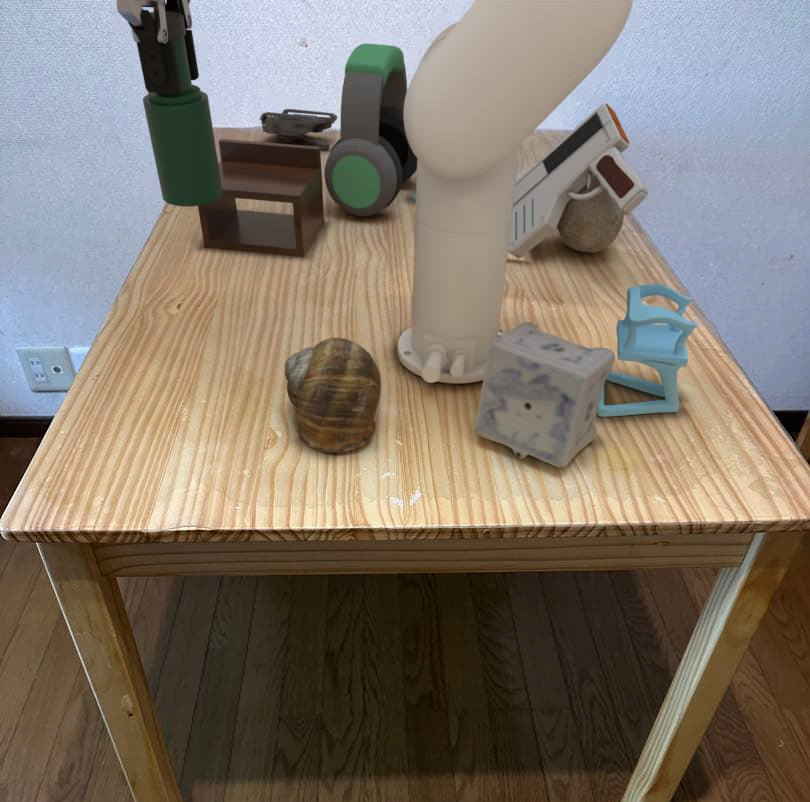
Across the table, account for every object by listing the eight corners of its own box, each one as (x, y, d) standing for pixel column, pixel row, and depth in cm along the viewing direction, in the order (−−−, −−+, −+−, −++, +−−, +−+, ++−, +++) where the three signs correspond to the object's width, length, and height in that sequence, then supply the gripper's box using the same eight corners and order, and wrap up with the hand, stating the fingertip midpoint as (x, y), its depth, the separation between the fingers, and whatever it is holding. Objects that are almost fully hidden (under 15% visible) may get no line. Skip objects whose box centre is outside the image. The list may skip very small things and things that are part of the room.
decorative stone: (547, 233, 111) (558, 159, 104) (606, 234, 111) (621, 160, 104) (557, 265, 104) (569, 188, 97) (620, 266, 104) (637, 189, 97)
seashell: (292, 389, 82) (285, 319, 77) (381, 389, 82) (380, 320, 77) (282, 455, 74) (273, 383, 69) (380, 455, 74) (380, 383, 69)
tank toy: (311, 117, 129) (313, 152, 132) (342, 112, 136) (343, 145, 138) (252, 112, 133) (255, 146, 136) (285, 107, 140) (287, 139, 143)
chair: (679, 425, 79) (714, 316, 70) (596, 416, 80) (621, 307, 71) (674, 384, 84) (706, 278, 76) (596, 375, 85) (618, 270, 77)
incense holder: (598, 435, 77) (621, 341, 70) (562, 479, 72) (582, 383, 65) (510, 402, 81) (523, 310, 74) (470, 442, 76) (479, 347, 69)
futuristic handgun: (525, 299, 104) (494, 215, 110) (656, 198, 92) (614, 108, 98) (513, 293, 102) (482, 207, 108) (645, 188, 91) (603, 97, 96)
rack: (303, 257, 105) (297, 175, 98) (204, 247, 107) (191, 166, 99) (324, 224, 113) (320, 146, 105) (231, 215, 114) (220, 138, 107)
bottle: (210, 208, 77) (180, 24, 67) (153, 204, 78) (114, 21, 67) (230, 186, 82) (205, 10, 71) (175, 182, 82) (142, 7, 72)
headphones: (361, 172, 127) (358, 28, 113) (426, 180, 125) (431, 34, 111) (321, 216, 114) (312, 60, 100) (393, 226, 112) (394, 67, 98)
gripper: (125, -186, 67) (169, 61, 79) (25, -180, 55) (95, 109, 67) (209, -185, 66) (240, 64, 78) (127, -178, 54) (178, 114, 67)
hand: (173, 83), depth 73 cm, fingers closed on bottle, 3 cm apart
